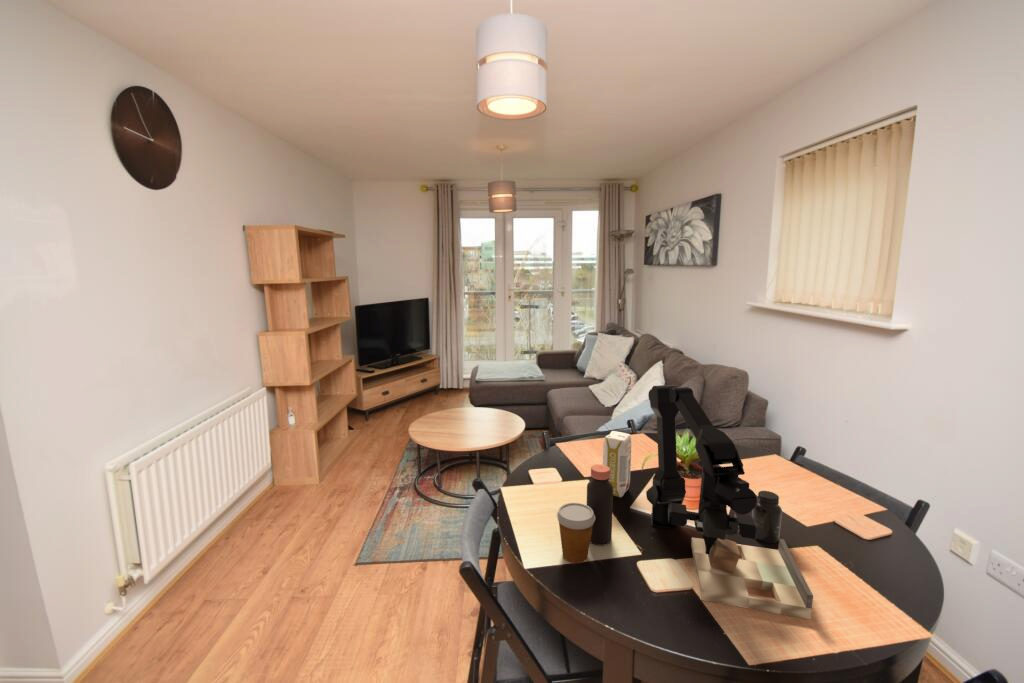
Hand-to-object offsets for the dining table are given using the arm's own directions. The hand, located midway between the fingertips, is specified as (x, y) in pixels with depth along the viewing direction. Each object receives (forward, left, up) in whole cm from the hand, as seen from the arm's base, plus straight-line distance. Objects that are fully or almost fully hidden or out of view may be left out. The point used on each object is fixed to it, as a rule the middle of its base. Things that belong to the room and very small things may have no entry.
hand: (707, 553), depth 106 cm
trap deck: (+8, 0, -5) cm, 10 cm away
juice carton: (-23, +35, -5) cm, 42 cm away
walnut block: (+3, 0, -2) cm, 3 cm away
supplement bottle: (+17, +20, -5) cm, 27 cm away
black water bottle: (-26, +7, -5) cm, 27 cm away
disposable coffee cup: (-31, -2, -5) cm, 31 cm away
